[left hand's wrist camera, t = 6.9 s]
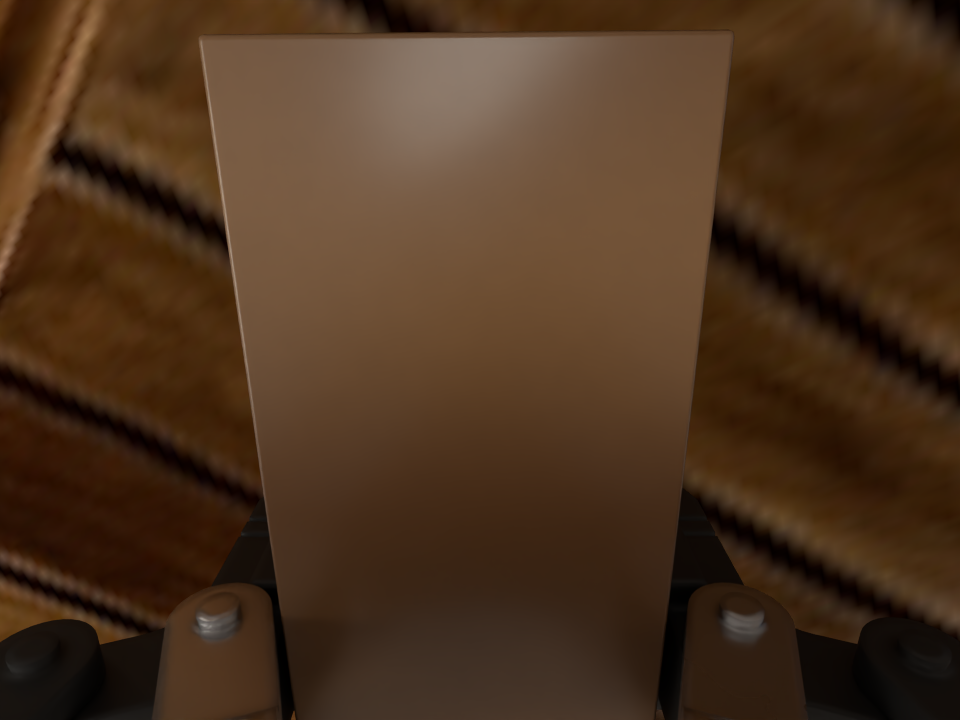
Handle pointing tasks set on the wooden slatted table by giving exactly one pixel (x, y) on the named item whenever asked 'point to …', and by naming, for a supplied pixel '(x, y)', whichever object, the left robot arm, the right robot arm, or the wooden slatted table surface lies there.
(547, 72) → the post
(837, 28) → the wooden slatted table surface
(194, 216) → the wooden slatted table surface
